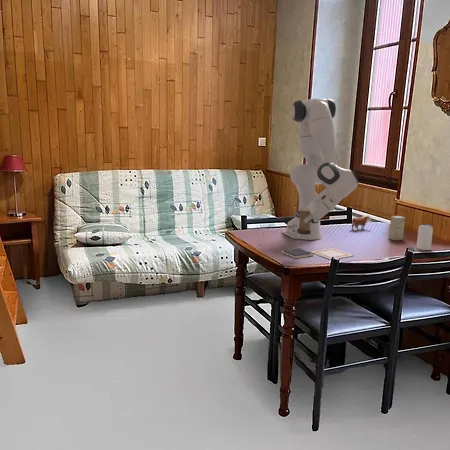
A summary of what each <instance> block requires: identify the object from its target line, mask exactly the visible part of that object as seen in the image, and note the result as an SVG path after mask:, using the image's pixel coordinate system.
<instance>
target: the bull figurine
mask: <svg viewBox="0 0 450 450" xmlns="http://www.w3.org/2000/svg"><path fill="white" fill-rule="evenodd" d="M351 220H352V221H351V223H352V224H351V230H352V231H354V230H355V229H356V231H360V229H359V227H360V226H361V229H362V230H363V231H364V230H365V227H366V224H367V223H368V222H370V221H372V217H371V216H370V215H368V214H367V215H363V216H361V217H354V218H353V219H351Z"/></svg>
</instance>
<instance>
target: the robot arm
mask: <svg viewBox="0 0 450 450" xmlns="http://www.w3.org/2000/svg"><path fill="white" fill-rule="evenodd" d="M291 105H292V106H291V109H290V114H291V115H290V116H291V117H292V120H293V121H294V122H297V123H299V132H298V133H299V134H298V138H299V153H300V155H302V156H303V158H304V159H305V162H306V163H303V164H299V165H296V166H293V168H292V169H291V171H290V175H289V176H290V180H291V183H293V184H294V185H295V187H296V190H297V193H298V210H296V211H294V213H295V214H296V215H295V217H293V218H292V219H291V220H289V221H288V222H287V225H286V229H283V230H282V231H281V233H282V234H284V235H286V236H287V237H290V238H291V239H295V240H307V241H308V240H309V241H310V240H311V241H312V240H315V241H316V240H319V239H320V240H321V238H322V233H321V219H322V218H324V216H326V215H328V213H330V211H331V212H333V211H335V210H336V207H337V206H338V204H339V203H341V201H342V200H343V199H344V198H346V197H348V196H349V195H350V194H351V193H352V192H353V191H355V189H356V188H357V187H358V185H359V180H358V178H357V176H356V175H355V173H354V172H353V170H351V169H346V168H342V167H340V165H339V161H338V156H337V155H338V154H337V151H336V150H337V149H336V141H335V128H334V121H333V120H334V118H335V116H336V113H337V107H336V106H337V105H336V102H335V101H334V100H333V99H331V98H310V99H302V100H301V99H299V100H296V101H294V102H293V103H292V104H291ZM316 185H323V187H325V188H324V189H323V190H322V191H321V192H320V193H317V190H316ZM300 209H309V211H310V213H311V214H309V216H307V217H305V218H304V219H303V221H304V222H305V223H307V222H308V221H310V230H311V234H307V235H305V234H299V233H297V230H298V228H299V220H300Z"/></svg>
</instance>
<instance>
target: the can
mask: <svg viewBox="0 0 450 450" xmlns="http://www.w3.org/2000/svg"><path fill="white" fill-rule="evenodd" d="M433 232H434V228H433V225H431V224H427V223H421V224H420V225H419V227H418V231H417V241H416V249H417V250H419V251H425V250H428V251H430V250H431V249H432V242H433V241H432V239H433Z"/></svg>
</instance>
